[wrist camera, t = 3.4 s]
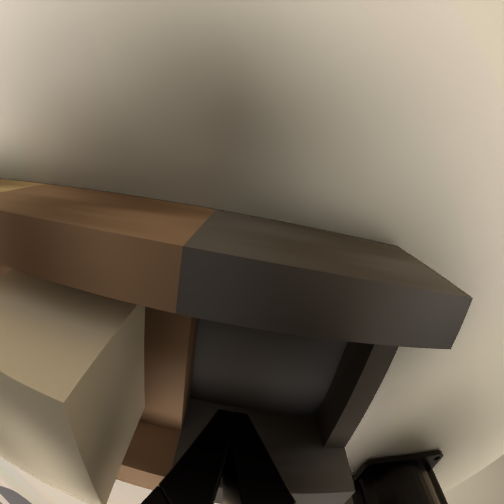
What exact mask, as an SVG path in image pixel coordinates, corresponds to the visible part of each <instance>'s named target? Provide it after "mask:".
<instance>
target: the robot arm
mask: <svg viewBox="0 0 504 504" xmlns="http://www.w3.org/2000/svg"><path fill="white" fill-rule="evenodd" d="M442 457H443V454H442V452H441V451H440V450H438V451H432V452H427V453H420V454H414V455H407V456H399V457H390V458H379V459H371V460H368V461H366V462H365V463H364V464H363V465H362V466H361V468H360V469H359V470H358V472H357V473H356V474H355V475H354V477H353V478H352V479H353V483H354V487H355V493H354V494H353V495H352V496H351V497H350V498H349V499H348V500H347V501H346V502H345V503H344V504H448V503H447V501H446V498H445V496H444V494H443V492H442V489H441V487H440V485H439V483H438V480H437V478H436V476H435V474H434V472H433V470H432V468H433V467H434V466H435V465H436V464H437V463H438V461H439V460H440V459H441V458H442ZM222 474H223V475H222ZM221 478H222V504H295V503H296V501H295V499H294V497H293V495H292V494H291V492H290V490H289V489H288V487H287V485H286V483H285V482H284V480H283V478H282V476H281V475H280V473H279V471H278V469H277V467H276V466H275V464H274V462H273V460H272V458H271V456H270V455H269V453H268V451H267V449H266V447H265V445H264V443H263V441H262V440H261V438H260V436H259V434H258V432H257V430H256V428H255V426H254V424H253V422H252V420H251V418H250V416H249V414H248V413H245V412H238V411H234V412H232V411H231V410H226V409H218V410H217V411H216V412H215V414H214V415H213V416H212V418H211V419H210V420H209V422H208V423H207V424H206V425H205V427H204V428H203V429H202V431H201V432H200V433H199V435H198V436H197V437H196V438H195V440H194V441H193V442H192V444H191V445H190V446H189V447H188V449H187V450H186V451H185V452H184V454H183V455H182V456H181V457H180V459H179V460H178V461H177V462H176V464H175V465H174V466H173V467H172V469H171V470H170V471H169V472H168V473H167V475H166V476H165V477H164V478H163V479H162V481H161V482H160V483H159V486H156V487H155V489H154V490H153V491H152V492H151V493H150V494H149V496H148V497H147V498H146V499H145V500H144V501H143V502H142V503H141V504H214V502H215V498H216V495H217V492H218V488H219V485H220V482H221Z"/></svg>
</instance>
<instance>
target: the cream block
mask: <svg viewBox="0 0 504 504" xmlns="http://www.w3.org/2000/svg"><path fill="white" fill-rule="evenodd" d="M144 328H145V306H141V305H137V304H133V303H128V302H124V301H120V300H117V299H113V298H109V297H105V296H101V295H97V294H94V293H90V292H86V291H83V290H79V289H76V288H72V287H69V286H65V285H62V284H59V283H55V282H52V281H49V280H46V279H42V278H39V277H36V276H33V275H30V274H27V273H24V272H21V271H18V270H15V269H12V270H11V271H9V272H7V273H5V274H3V275H1V276H0V456H1V457H3V458H4V459H6V460H7V461H9V462H10V463H12V464H13V465H15V466H17V467H18V468H20V469H22V470H23V471H25V472H27V473H28V474H30V475H32V476H34V477H36V478H37V479H39V480H41V481H43V482H45V483H47V484H49V485H51V486H53V487H55V488H57V489H59V490H61V491H63V492H65V493H67V494H69V495H71V496H74V497H76V498H78V499H81V500H83V501H85V502H88V503H90V504H106V503H107V500H108V498H109V495H110V492H111V490H112V487H113V485H114V482H115V480H116V477H117V474H118V472H119V469H120V467H121V464H122V462H123V459H124V457H125V454H126V452H127V449H128V447H129V444H130V442H131V439H132V437H133V435H134V432H135V430H136V427H137V425H138V422H139V420H140V418H141V415H142V413H143V410H144V408H145V389H144Z"/></svg>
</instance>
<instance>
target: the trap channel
mask: <svg viewBox="0 0 504 504" xmlns="http://www.w3.org/2000/svg"><path fill="white" fill-rule="evenodd" d="M12 269H15V270H18V271H21V272H24V273H27V274H30V275H33V276H36V277H39V278H42V279H46V280H49V281H52V282H55V283H59V284H62V285H65V286H69V287H72V288H76V289H79V290H83V291H86V292H90V293H94V294H97V295H101V296H105V297H109V298H113V299H117V300H120V301H124V302H128V303H133V304H137V305H141V306H145V328H144V389H145V408H144V410H143V413H142V415H141V418H140V420H139V422H138V425H137V427H136V430H135V432H134V435H133V437H132V439H131V442H130V444H129V447H128V449H127V452H126V454H125V457H124V459H123V462H122V464H121V467H120V469H119V472H118V474H117V477H116V479H118V480H121V481H124V482H127V483H130V484H133V485H137V486H140V487H143V488H147V489H151V490H154V489H155V487H156V486H159V483H160V482H161V481H162V479H163V478H164V477H165V476H166V475H167V473H168V472H169V471H170V470H171V469H172V467H173V466H174V465H175V464H176V462H177V461H178V460H179V459H180V457H181V456H182V455H183V454H184V452H185V451H186V450H187V449H188V447H189V446H190V445H191V444H192V442H193V441H194V440H195V438H196V437H197V436H198V435H199V433H200V432H201V431H202V429H203V428H204V427H205V425H206V424H207V423H208V422H209V420H210V419H211V418H212V416H213V415H214V414H215V412H216V411H217V410H218V409H226V410H231V411H232V412H234V411H238V412H245V413H248V414H249V416H250V418H251V420H252V422H253V424H254V426H255V428H256V430H257V432H258V434H259V436H260V438H261V440H262V441H263V443H264V445H265V447H266V449H267V451H268V453H269V455H270V456H271V458H272V460H273V462H274V464H275V466H276V467H277V469H278V471H279V473H280V475H281V476H282V478H283V480H284V482H285V483H286V485H287V487H288V489H289V490H290V492H291V494H292V495H293V497H294V499H295V501H296V503H295V504H344V503H345V502H346V501H347V500H348V499H349V498H350V497H351V496H352V495H353V494H354V493H355V487H354V483H353V479H352V475H351V471H350V467H349V463H348V460H347V456H346V452H345V448H344V447H345V446H346V444H347V443H348V441H349V440H350V438H351V436H352V435H353V433H354V431H355V430H356V428H357V426H358V425H359V423H360V421H361V420H362V418H363V416H364V414H365V412H366V411H367V409H368V407H369V405H370V403H371V402H372V400H373V398H374V396H375V394H376V392H377V390H378V388H379V386H380V384H381V383H382V381H383V379H384V377H385V374H386V372H387V370H388V368H389V366H390V364H391V362H392V360H393V358H394V355H395V353H396V351H397V349H398V347H399V346H403V347H417V348H435V349H451V347H452V345H453V343H454V341H455V339H456V337H457V335H458V332H459V330H460V328H461V325H462V323H463V321H464V318H465V316H466V314H467V311H468V309H469V306H470V304H471V301H472V297H470V296H469V295H468V294H466V293H465V292H464V291H462V290H461V289H459V288H458V287H457V286H455V285H454V284H452V283H451V282H450V281H448V280H447V279H445V278H444V277H442V276H441V275H440V274H438V273H437V272H435V271H434V270H432V269H431V268H429V267H428V266H426V265H425V264H423V263H422V262H420V261H419V260H417V259H416V258H414V257H413V256H411V255H410V254H408V253H407V252H405V251H404V250H402V249H401V248H399V247H397V246H393V245H389V244H384V243H380V242H376V241H371V240H367V239H362V238H357V237H353V236H348V235H344V234H339V233H334V232H330V231H325V230H320V229H315V228H310V227H305V226H300V225H295V224H290V223H285V222H280V221H275V220H270V219H265V218H259V217H254V216H249V215H243V214H238V213H233V212H227V211H221V210H216V209H210V208H204V207H199V206H193V205H187V204H181V203H175V202H169V201H163V200H156V199H150V198H144V197H137V196H131V195H124V194H117V193H110V192H103V191H96V190H89V189H82V188H74V187H67V186H59V185H51V184H42V183H34V182H25V181H16V180H7V179H0V276H1V275H3V274H5V273H7V272H9V271H11V270H12ZM222 475H223V474H222ZM214 503H220V504H222V478H221V482H220V485H219V488H218V492H217V495H216V498H215V502H214Z"/></svg>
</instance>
